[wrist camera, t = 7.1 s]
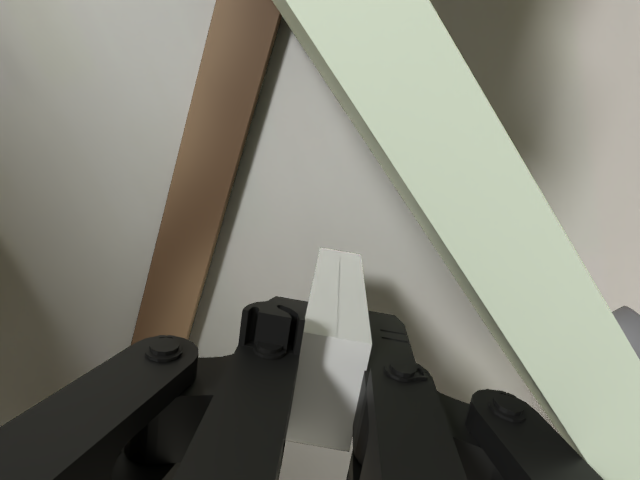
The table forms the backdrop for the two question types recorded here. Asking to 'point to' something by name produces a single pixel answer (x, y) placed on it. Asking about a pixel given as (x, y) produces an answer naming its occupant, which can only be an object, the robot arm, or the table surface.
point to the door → (483, 215)
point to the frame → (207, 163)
